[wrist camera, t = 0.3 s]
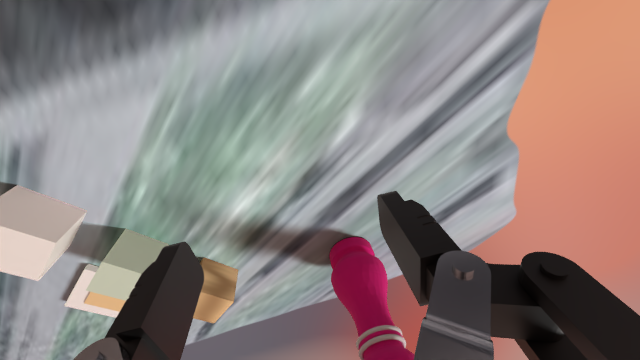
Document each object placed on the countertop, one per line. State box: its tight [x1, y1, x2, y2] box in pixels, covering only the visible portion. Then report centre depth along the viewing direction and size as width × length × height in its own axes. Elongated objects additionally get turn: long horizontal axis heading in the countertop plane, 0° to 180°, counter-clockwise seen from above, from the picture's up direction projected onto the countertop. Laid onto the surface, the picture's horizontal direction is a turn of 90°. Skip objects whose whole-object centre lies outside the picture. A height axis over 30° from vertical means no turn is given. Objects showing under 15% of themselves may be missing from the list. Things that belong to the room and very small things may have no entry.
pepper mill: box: [330, 237, 414, 360], centre depth 30 cm, size 7×7×20 cm
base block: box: [0, 185, 87, 281], centre depth 26 cm, size 6×6×5 cm
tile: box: [64, 264, 126, 317], centre depth 35 cm, size 8×8×1 cm
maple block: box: [193, 258, 238, 323], centre depth 34 cm, size 5×5×5 cm
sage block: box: [86, 229, 169, 301], centre depth 30 cm, size 5×5×5 cm
